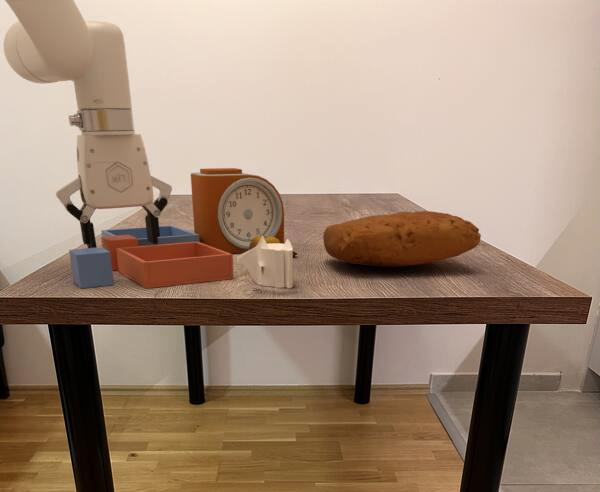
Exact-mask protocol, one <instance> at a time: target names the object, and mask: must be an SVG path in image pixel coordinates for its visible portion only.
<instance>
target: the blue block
mask: <svg viewBox="0 0 600 492" xmlns="http://www.w3.org/2000/svg"><path fill="white" fill-rule="evenodd" d="M68 252H69V258H70V265H71V266H70V267H71V273H72V279H73V283H74V284H75V285H76V286H78V287H79V288H80V289H90V288H98V287H107V286H115V282H114V274H113V271H112V264H111V256H110V252H109V251H107V250H105V249H103V248H102V246H101V247H100V246H99V247H97V248H88V247H87V248H75V249H69V250H68Z"/></svg>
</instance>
